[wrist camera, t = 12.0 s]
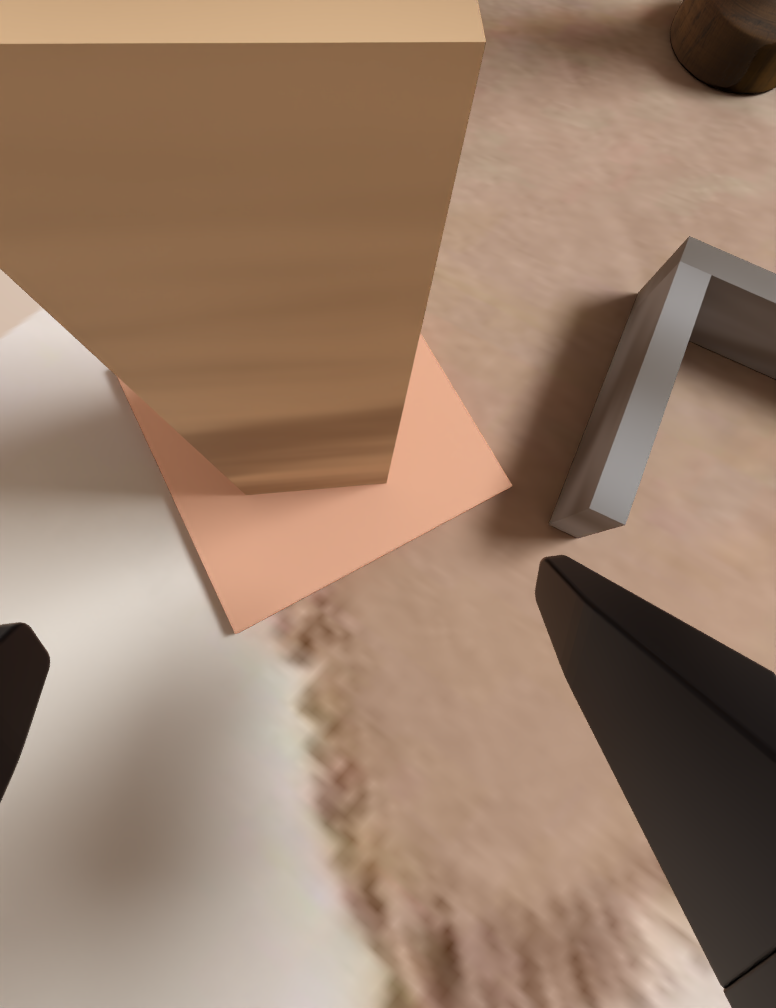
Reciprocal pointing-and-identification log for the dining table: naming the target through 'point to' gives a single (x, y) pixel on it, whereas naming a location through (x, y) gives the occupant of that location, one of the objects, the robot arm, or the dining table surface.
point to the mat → (326, 502)
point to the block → (240, 209)
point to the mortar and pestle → (728, 43)
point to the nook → (663, 373)
